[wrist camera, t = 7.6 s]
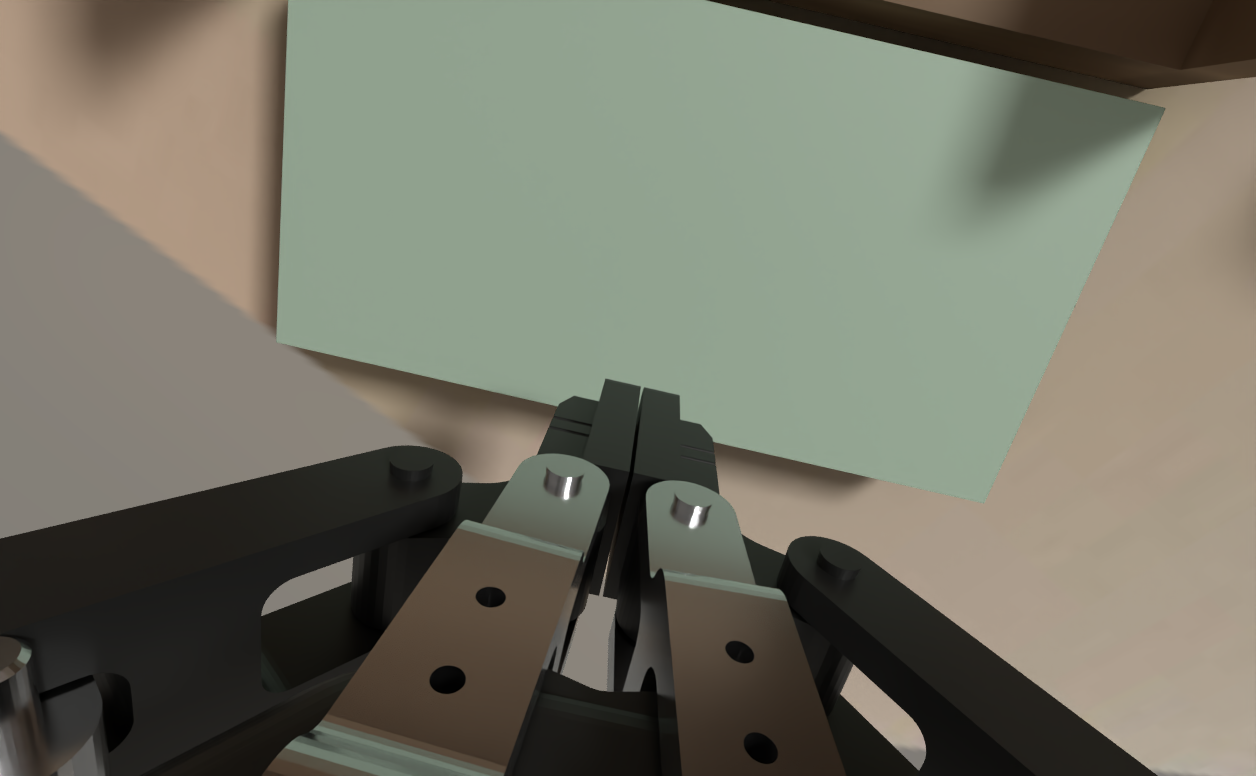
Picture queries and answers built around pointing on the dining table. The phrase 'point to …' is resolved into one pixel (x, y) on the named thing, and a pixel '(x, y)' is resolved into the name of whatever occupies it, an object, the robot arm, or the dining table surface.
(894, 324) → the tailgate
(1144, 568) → the dining table surface
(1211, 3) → the box
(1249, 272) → the dining table surface
